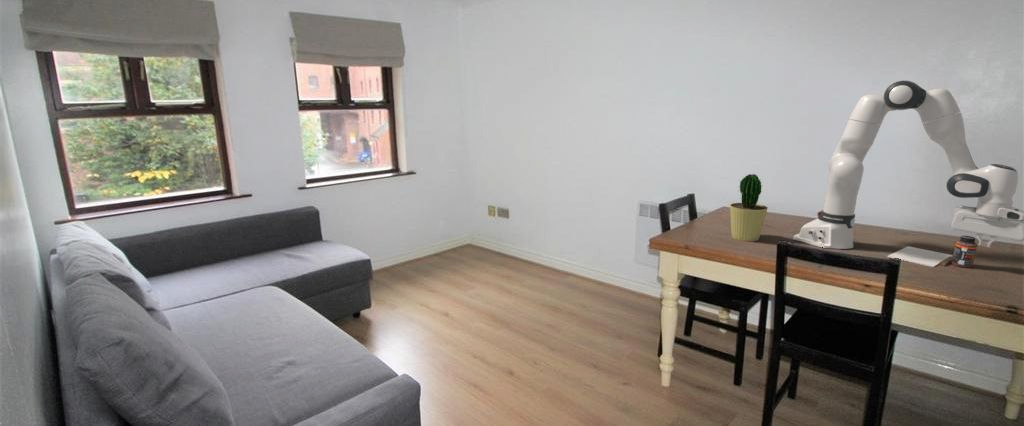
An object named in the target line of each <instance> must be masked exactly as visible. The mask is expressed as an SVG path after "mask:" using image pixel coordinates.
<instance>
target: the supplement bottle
mask: <svg viewBox="0 0 1024 426" xmlns="http://www.w3.org/2000/svg"><path fill="white" fill-rule="evenodd" d="M977 249H978V244H977V243H976V237H974V236H972V235H971V236H970V235H960V239H959V240H957V241H956V243H955V246H954V250H953V254H952V255H953V256H952V257H953V258H952V262H951V264H952V265H953V266H956V267H960V268H968V269H969V268H972V267H973V265H974V261H975V257H976V252H977Z"/></svg>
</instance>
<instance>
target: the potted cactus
mask: <svg viewBox="0 0 1024 426" xmlns="http://www.w3.org/2000/svg"><path fill="white" fill-rule="evenodd" d="M744 175H745V177H743V178H742V179H741V180H739V181H738V182H739V186H738V188H739V190H737V192H738V193H739V195H740V196H741V198H740V199H741V200H740V201H741V202H732V203H730V204H729V212H730V214H729V215H730V228H731V229H730V231H731V238H732V239H734V240H738V241H743V242H756V241H757V242H758V241H759V239H760V236H761V233H762V230H763V226H764V222H765V220H766V215H767V212H768V206H765V205H763V204H759V202H758V201H759V197H761V193H762V187H763V184H762V181H761V178H759V176H758V174H755V173H751V174H749V173H748V174H744Z"/></svg>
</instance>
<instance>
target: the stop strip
mask: <svg viewBox="0 0 1024 426" xmlns="http://www.w3.org/2000/svg"><path fill="white" fill-rule="evenodd" d="M952 258H953V256H952V257H951V256H950V257H948V258H946V259H945V260H943V261H941V262H940V263H939V264H938V265H939V266H942V267H945V266H947V265H949V264H950V263H952Z"/></svg>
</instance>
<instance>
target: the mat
mask: <svg viewBox="0 0 1024 426" xmlns="http://www.w3.org/2000/svg"><path fill="white" fill-rule="evenodd" d="M950 256H951V257H953V254H949V253H944V252H939V251H938V252H937V251H934V250H928V249H924V248H918V247H913V246H910V245H909V246H906V247H904V248H902V249H899V250H898V251H895V252H893V253H891V254H888V255H887V256H886V257H887V258H889V259H890V258H891V259H894V258H899V259H901V260H900V261H903V260H904V261H905V262H907V261H908V262H909V263H912V264H917V265H921V266H926V267H931V268H934V267H936V266H938V265H939V263H940V262H941V261H943V260H945V259H946V258H948V257H950ZM904 261H903V262H904Z"/></svg>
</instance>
